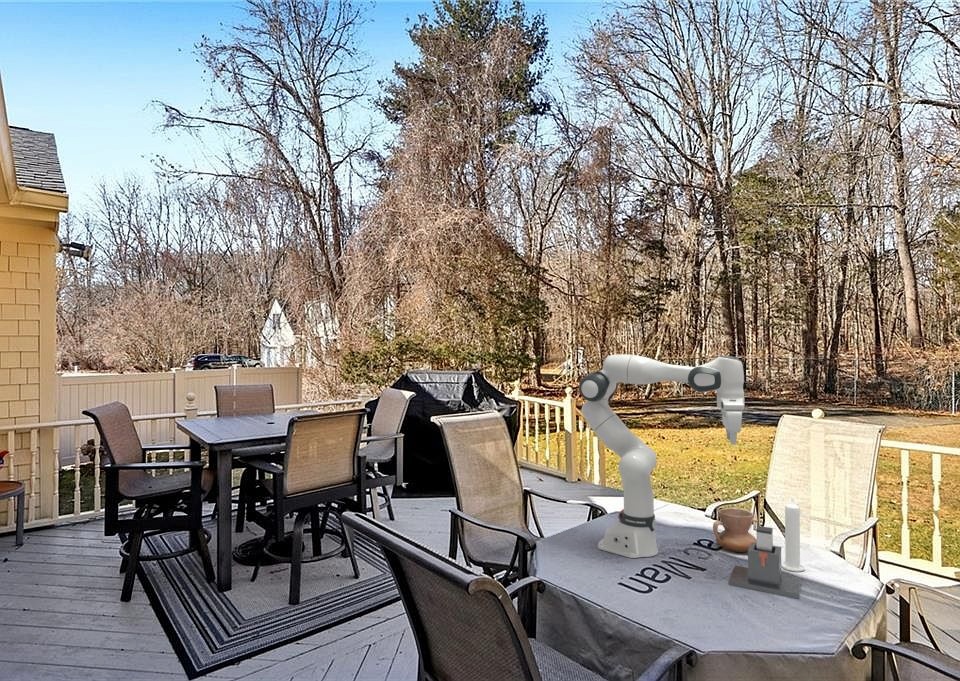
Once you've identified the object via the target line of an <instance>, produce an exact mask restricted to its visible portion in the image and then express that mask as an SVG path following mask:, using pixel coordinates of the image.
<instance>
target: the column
mask: <svg viewBox="0 0 960 681" xmlns="http://www.w3.org/2000/svg"><path fill="white" fill-rule="evenodd" d="M773 529H774V528H773V527H768V526H762V525H757V528H756V533H755V534H756V540H757V550H758V551H764V552H770V553H773V546H774V540H773V539H774V531H773Z"/></svg>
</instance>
